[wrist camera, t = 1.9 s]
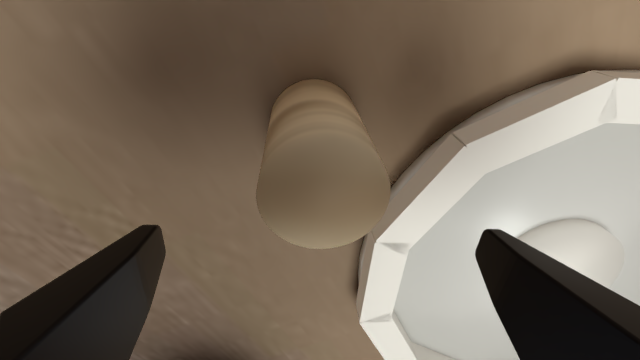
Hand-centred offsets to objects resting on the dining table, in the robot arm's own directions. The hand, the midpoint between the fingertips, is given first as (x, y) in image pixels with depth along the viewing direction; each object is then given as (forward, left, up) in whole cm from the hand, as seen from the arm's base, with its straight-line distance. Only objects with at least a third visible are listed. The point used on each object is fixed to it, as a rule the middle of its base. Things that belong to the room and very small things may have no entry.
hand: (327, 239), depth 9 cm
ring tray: (-9, -16, -9) cm, 20 cm away
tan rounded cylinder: (0, 0, -9) cm, 9 cm away
